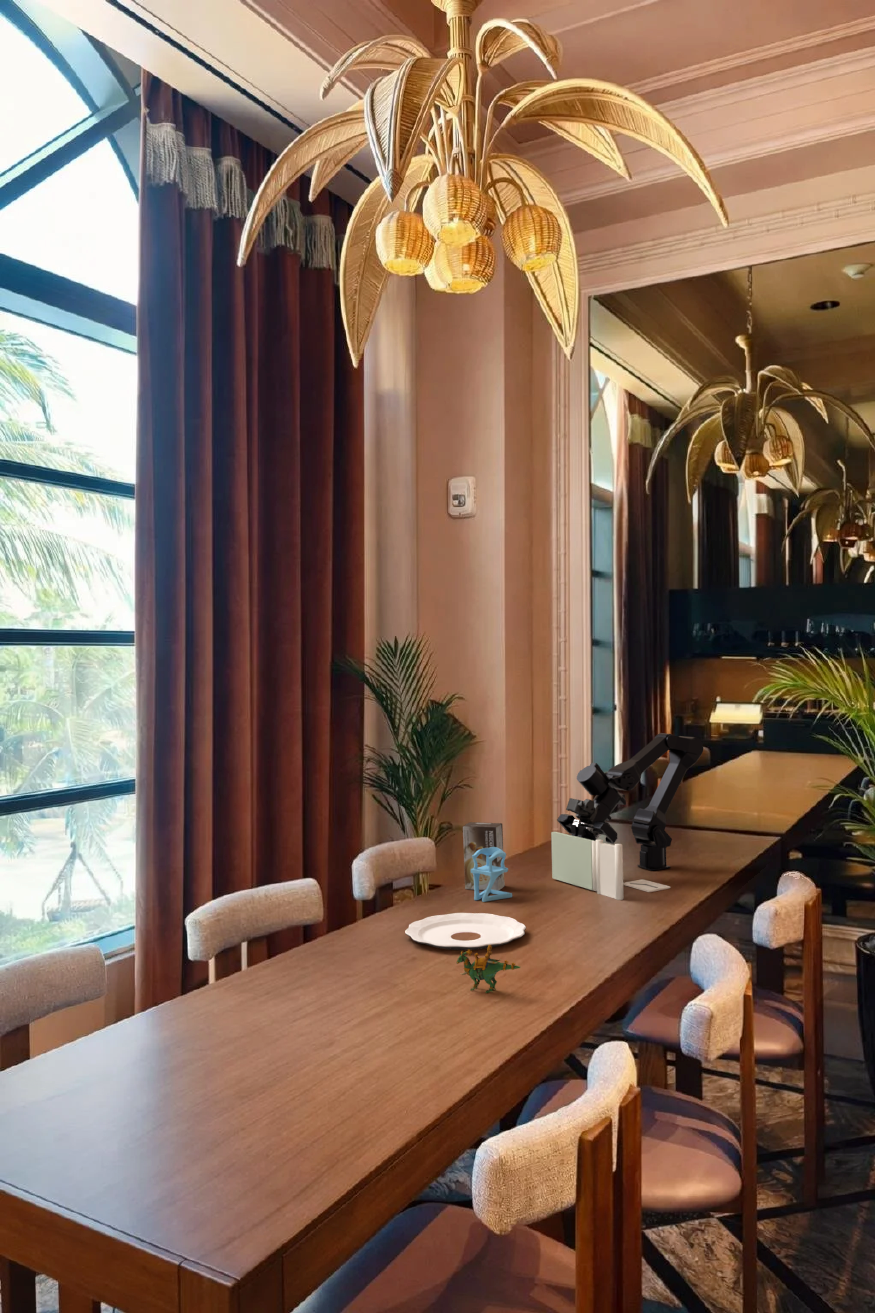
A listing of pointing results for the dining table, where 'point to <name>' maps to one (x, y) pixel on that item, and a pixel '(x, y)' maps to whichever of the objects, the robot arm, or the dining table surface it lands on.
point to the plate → (465, 930)
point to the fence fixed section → (609, 869)
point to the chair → (489, 874)
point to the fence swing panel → (574, 860)
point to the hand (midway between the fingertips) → (569, 853)
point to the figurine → (483, 968)
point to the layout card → (646, 885)
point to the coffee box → (475, 840)
